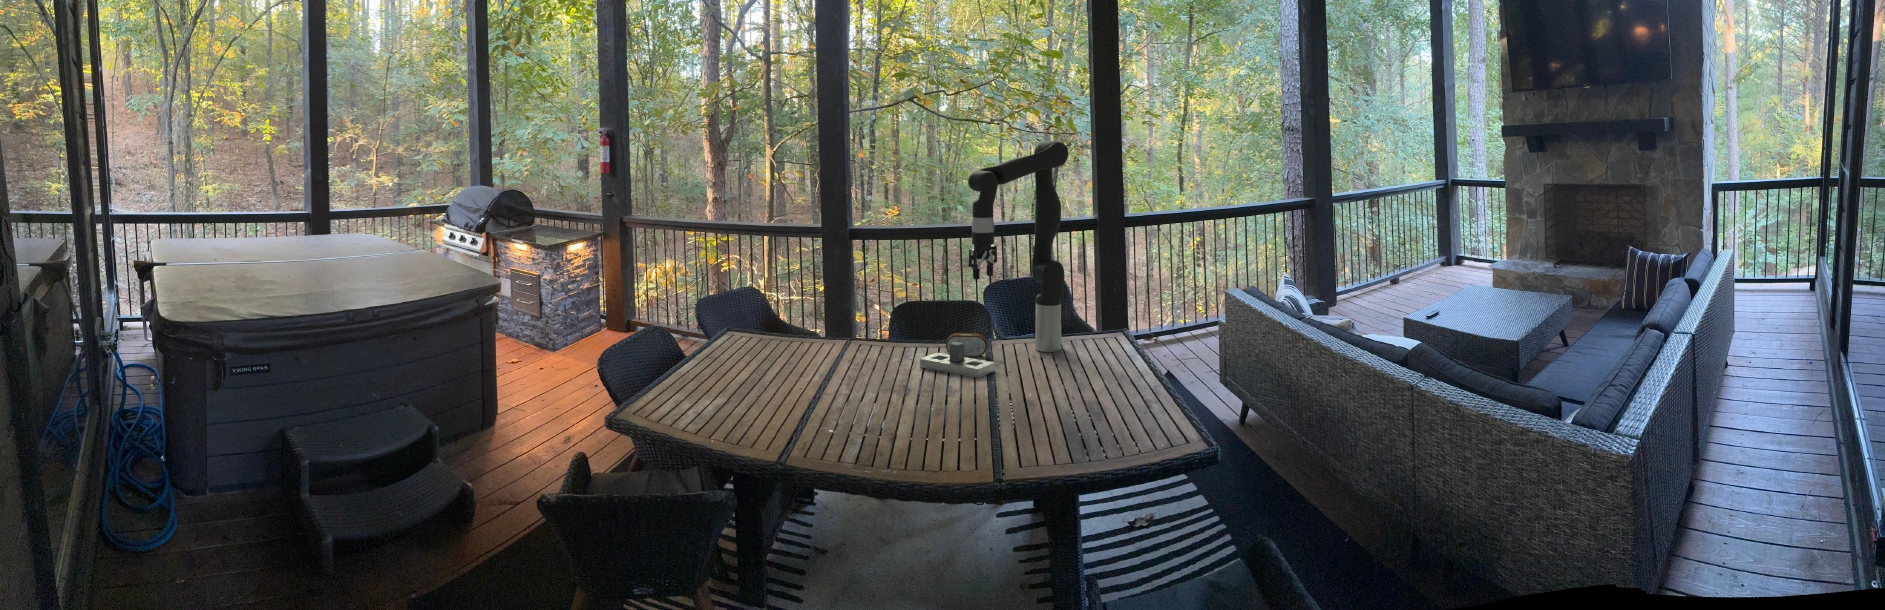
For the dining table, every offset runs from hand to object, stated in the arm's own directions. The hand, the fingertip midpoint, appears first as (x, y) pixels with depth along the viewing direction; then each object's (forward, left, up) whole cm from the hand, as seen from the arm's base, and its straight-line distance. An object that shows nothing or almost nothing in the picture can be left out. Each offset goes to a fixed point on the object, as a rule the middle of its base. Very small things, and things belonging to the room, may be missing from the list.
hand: (983, 277), depth 310 cm
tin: (-4, -10, -30) cm, 32 cm away
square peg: (+12, -3, -30) cm, 33 cm away
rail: (+12, -3, -30) cm, 33 cm away
